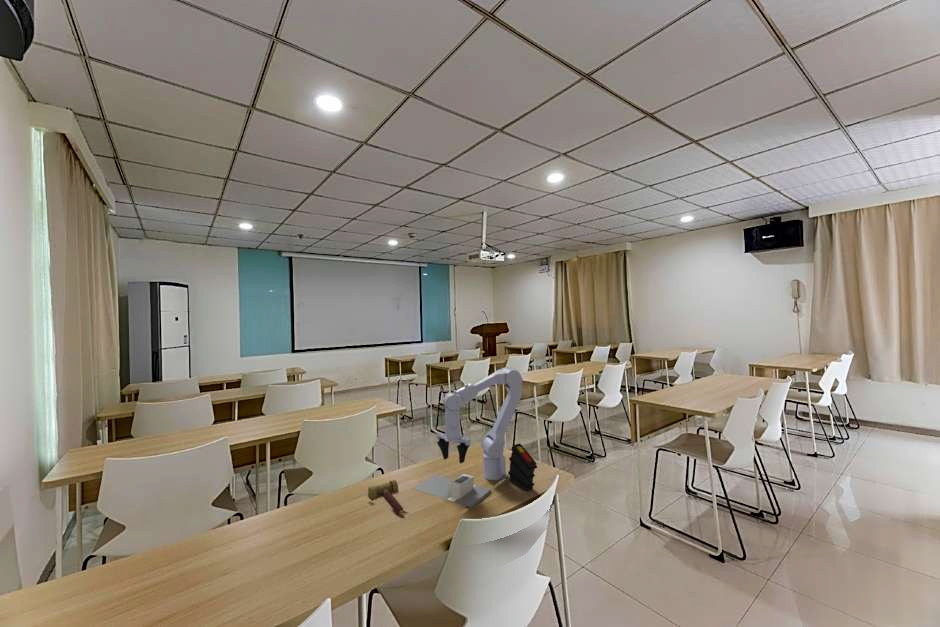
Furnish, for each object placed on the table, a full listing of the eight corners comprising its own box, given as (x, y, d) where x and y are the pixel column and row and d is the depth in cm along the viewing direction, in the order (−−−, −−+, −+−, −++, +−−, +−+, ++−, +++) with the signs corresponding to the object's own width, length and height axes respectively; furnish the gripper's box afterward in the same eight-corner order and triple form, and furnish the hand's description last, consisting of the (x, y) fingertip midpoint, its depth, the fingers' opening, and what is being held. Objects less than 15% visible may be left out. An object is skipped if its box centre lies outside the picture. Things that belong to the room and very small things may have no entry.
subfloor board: (435, 476, 155) (435, 474, 155) (491, 492, 140) (491, 489, 140) (412, 491, 143) (411, 488, 143) (469, 509, 129) (469, 506, 129)
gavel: (417, 503, 128) (388, 513, 123) (417, 517, 128) (388, 527, 123) (393, 477, 145) (367, 484, 140) (393, 489, 146) (368, 496, 140)
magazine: (511, 471, 154) (520, 442, 148) (530, 497, 143) (541, 467, 138) (503, 473, 152) (512, 444, 146) (522, 500, 142) (533, 470, 136)
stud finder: (464, 485, 144) (463, 473, 144) (474, 488, 142) (473, 475, 141) (449, 495, 136) (449, 482, 136) (460, 498, 134) (459, 485, 134)
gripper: (431, 425, 147) (432, 460, 148) (462, 431, 139) (463, 468, 140) (442, 420, 153) (443, 454, 154) (472, 425, 145) (474, 461, 145)
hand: (453, 460), depth 147 cm, fingers open, 7 cm apart
